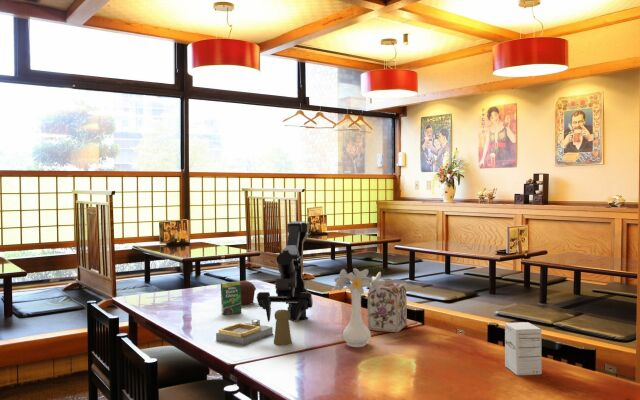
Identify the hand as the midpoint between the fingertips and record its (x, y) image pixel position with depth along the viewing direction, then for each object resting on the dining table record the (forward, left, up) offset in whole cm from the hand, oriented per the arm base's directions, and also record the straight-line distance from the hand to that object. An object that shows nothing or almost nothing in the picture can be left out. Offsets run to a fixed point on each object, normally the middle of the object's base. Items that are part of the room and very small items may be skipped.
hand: (282, 321), depth 176 cm
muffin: (-13, -66, -8) cm, 68 cm away
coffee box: (-1, -50, -8) cm, 51 cm away
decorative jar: (-41, +4, -8) cm, 42 cm away
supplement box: (-44, +61, -8) cm, 75 cm away
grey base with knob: (+8, -14, -7) cm, 18 cm away
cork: (0, 0, -8) cm, 8 cm away
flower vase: (-20, +15, -8) cm, 26 cm away
